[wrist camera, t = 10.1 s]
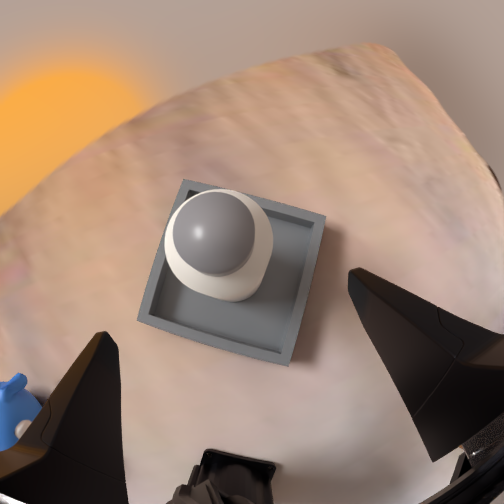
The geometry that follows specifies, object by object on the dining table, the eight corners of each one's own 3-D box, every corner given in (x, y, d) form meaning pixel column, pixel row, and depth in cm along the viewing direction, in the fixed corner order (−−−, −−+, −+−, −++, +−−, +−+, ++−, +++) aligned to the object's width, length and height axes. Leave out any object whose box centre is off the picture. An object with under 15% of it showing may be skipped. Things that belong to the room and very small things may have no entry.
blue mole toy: (87, 483, 18) (51, 518, 10) (13, 431, 18) (-29, 448, 10) (94, 402, 20) (42, 429, 12) (14, 350, 21) (-38, 354, 13)
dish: (319, 224, 24) (326, 216, 22) (284, 361, 22) (288, 366, 20) (188, 189, 25) (183, 178, 22) (146, 319, 22) (136, 320, 20)
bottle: (270, 251, 23) (289, 190, 11) (253, 309, 22) (256, 309, 10) (213, 235, 23) (178, 164, 11) (195, 292, 22) (137, 272, 10)
